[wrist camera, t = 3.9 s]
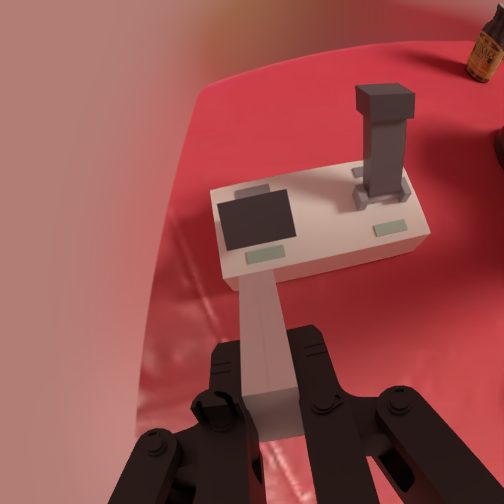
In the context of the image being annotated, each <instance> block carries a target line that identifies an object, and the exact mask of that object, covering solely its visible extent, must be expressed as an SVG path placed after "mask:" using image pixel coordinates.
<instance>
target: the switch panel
mask: <svg viewBox="0 0 504 504" xmlns="http://www.w3.org/2000/svg"><path fill="white" fill-rule="evenodd" d="M283 189H287V193H288V198H289V202H290V207H291V212H292V216H293V221H294V226H295V231H296V235H297V237H292V238H287V239H282V240H278V241H273V242H268V243H263V244H259V245H254V246H249V247H245V248H240V249H235V250H231V251H227V249H226V245H225V240H224V236H223V231H222V227H221V222H220V217H219V213H218V208H217V204H218V203H223V202H227V201H232V200H236V199H241V198H245V197H250V196H254V195H259V194H264V193H268V192H273V191H278V190H283ZM210 194H211V201H212V208H213V215H214V222H215V229H216V236H217V243H218V250H219V256H220V263H221V269H222V276H223V280H224V281H225V282H226V283H227V284H228V285H229V286H230V288H231V289H232V290H233V291H239V276H242V275H247V274H252V273H257V272H261V271H266V270H271V269H273V273H274V278H275V282H276V283H278V282H283V281H288V280H292V279H297V278H302V277H306V276H311V275H315V274H320V273H324V272H329V271H333V270H338V269H342V268H346V267H351V266H355V265H359V264H363V263H368V262H372V261H376V260H380V259H384V258H388V257H392V256H397V255H401V254H405V253H409V252H412V251H413V250H414V249H415V248H416V247H417V246H418V245H419V244H420V243H421V242H423V241H424V240H425V239H426V238H427V237H428V236H429V235H430V234H431V232H430V229H429V227H428V224H427V221H426V219H425V216H424V214H423V211H422V208H421V206H420V204H419V201H418V199H417V196H416V194H415V192H414V189H413V187H412V185H411V182H410V180H409V178H408V176H407V173H406V171H405V169H404V167H403V172H402V180H401V188H400V191H395V192H389V193H384V194H378V195H373V196H369V195H368V193H367V192H366V190H365V189H364V186H363V160H362V161H356V162H349V163H343V164H337V165H331V166H325V167H320V168H314V169H309V170H303V171H298V172H293V173H288V174H282V175H277V176H272V177H268V178H263V179H258V180H253V181H249V182H244V183H240V184H235V185H231V186H226V187H222V188H218V189H214V190H210Z"/></svg>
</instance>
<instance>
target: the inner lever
mask: <svg viewBox="0 0 504 504" xmlns="http://www.w3.org/2000/svg"><path fill="white" fill-rule="evenodd" d="M355 89H356V110H357V111H359V112H360V113H361V114H362V115H363V186H364V189H365V190H366V192H367V193H368V195H369V196H373V195H378V194H384V193H389V192H395V191H400V188H401V180H402V172H403V162H404V151H405V139H406V123H407V119H410V118H414V108H415V93H414V92H412V91H410V90H409V89H407V88H405V87H404V86H402V85H400V84H398V83H389V84H369V85H355Z"/></svg>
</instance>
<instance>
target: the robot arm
mask: <svg viewBox="0 0 504 504" xmlns="http://www.w3.org/2000/svg"><path fill="white" fill-rule="evenodd" d="M495 148H496V153H497V156H498V159H499V161H500V163H501V165H502V167H503V169H504V126H503V127H502V128H501V130H500V131H499V132H498V134H497V135H496V138H495ZM239 313H240V340H236V341H230V342H224V343H218V344H217V346H216V347H215V349H214V351H213V352H212V355H211V368H210V382H209V389H208V390H205V391H204V392H202V393H200V394H199V395H198V396H197V397H196V398H195V399H194V400H193V402H192V405H191V408H190V409H191V410H192V412H193V414H194V415H195V417H196V419H197V420H198V422H199V423H197V424H196V425H195V426H193V427H191V428H188V429H186V430H183V431H180V432H177V433H174V434H172V433H171V432H170V431H168V430H166V429H163V428H155V429H152V430H149V431H147V432H146V433H144V434H143V435H141V437H140V438H139V439H138V441H137V443H136V445H135V447H134V449H133V451H132V453H131V455H130V458H129V459H128V461H127V463H126V466H125V468H124V470H123V472H122V474H121V476H120V478H119V481H118V483H117V485H116V487H115V489H114V491H113V493H112V495H111V497H110V500H109V502H108V504H267V503H266V491H265V480H264V468H263V457H262V454H261V451H260V449H259V440H260V442H267V441H274V440H280V439H286V438H291V437H296V436H302V435H305V439H306V444H307V450H308V456H309V461H310V466H311V472H312V477H313V483H314V488H315V494H316V500H317V504H380V502H379V499H378V495H377V492H376V488H375V485H374V482H373V478H372V475H371V471H370V468H369V465H368V462H367V458H366V456H372V458H373V459H374V461H375V462H376V464H377V465H378V467H379V468H380V469H381V471H382V472H383V474H384V475H385V477H386V478H387V480H388V481H389V483H390V484H391V486H392V487H393V488H394V490H395V491H396V493H397V494H398V496H399V497H400V499H401V500H402V501H403V503H404V504H504V488H503V487H502V486H501V484H500V483H499V482H498V481H497V480H496V479H495V477H494V476H493V475H492V474H491V473H490V472H489V471H488V469H487V468H486V467H485V466H484V465H483V464H482V463H481V461H480V460H479V459H478V458H477V457H476V456H475V455H474V453H473V452H472V451H471V450H470V449H469V448H468V447H467V446H466V444H465V443H464V442H463V441H462V440H461V439H460V438H459V437H458V436H457V434H456V433H455V432H454V431H453V430H452V429H451V428H450V427H449V426H448V424H447V423H446V422H445V421H444V420H443V419H442V418H441V417H440V416H439V415H438V413H437V412H436V411H435V410H434V409H433V408H432V407H431V406H430V405H429V404H428V403H427V401H426V400H425V399H424V398H423V397H422V396H421V395H420V394H419V393H418V392H417V391H416V390H414V389H413V388H411V387H407V386H404V385H403V386H393V387H390V388H388V389H386V390H385V391H384V392H382V393H381V394H380V396H379V397H356V396H353V395H350V394H349V393H347V392H345V391H344V390H343V389H342V388H341V386H340V385H339V383H338V380H337V377H336V374H335V371H334V368H333V365H332V362H331V359H330V356H329V353H328V350H327V347H326V345H325V342H324V339H323V336H322V333H321V332H320V331H319V330H318V329H317V328H316V327H315V326H314V325H313V324H312V325H308V326H303V327H299V328H294V329H289V330H286V328H285V324H284V319H283V314H282V310H281V305H280V300H279V296H278V291H277V287H276V282H275V278H274V273H273V269H271V270H266V271H261V272H257V273H252V274H247V275H242V276H239Z"/></svg>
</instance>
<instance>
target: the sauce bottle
mask: <svg viewBox="0 0 504 504" xmlns="http://www.w3.org/2000/svg"><path fill="white" fill-rule="evenodd" d="M503 55H504V5H503V4H501V3H499V4H498V6H497V11H496V14H495V16H494V17H493V20H491V21H490V22H488V23H487V24H486V25H485V26H484V28H483V29H482V30H481V33H480V35H479V37H478V39H477V41H476V44H475V46H474V48H473V50H472V52H471V54H470V57H469V59H468V61H467V65H466V69H467V71H468V72H469V74H470V75H471V76H472V77H474V78H475V79H476V80H478V81H480V82H484V83H486V82H488V81H489V79H491V77H492V76H493V74H494V72H495V70H496V68H497V66H498V65H499V63H500V61H501V59H502V57H503Z"/></svg>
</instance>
